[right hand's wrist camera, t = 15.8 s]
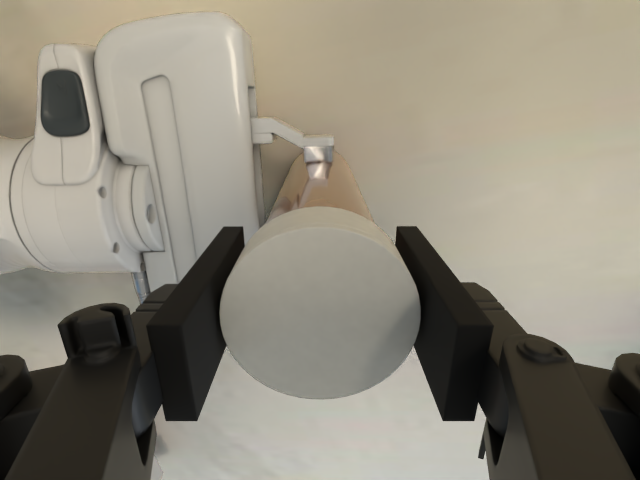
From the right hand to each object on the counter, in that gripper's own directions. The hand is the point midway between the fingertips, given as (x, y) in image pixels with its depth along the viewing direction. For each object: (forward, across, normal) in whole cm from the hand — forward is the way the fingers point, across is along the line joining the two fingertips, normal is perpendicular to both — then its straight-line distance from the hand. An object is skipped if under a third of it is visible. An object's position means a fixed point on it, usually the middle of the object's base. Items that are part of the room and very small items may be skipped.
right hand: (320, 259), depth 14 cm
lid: (-4, 0, 0) cm, 4 cm away
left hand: (+9, -1, 0) cm, 9 cm away
